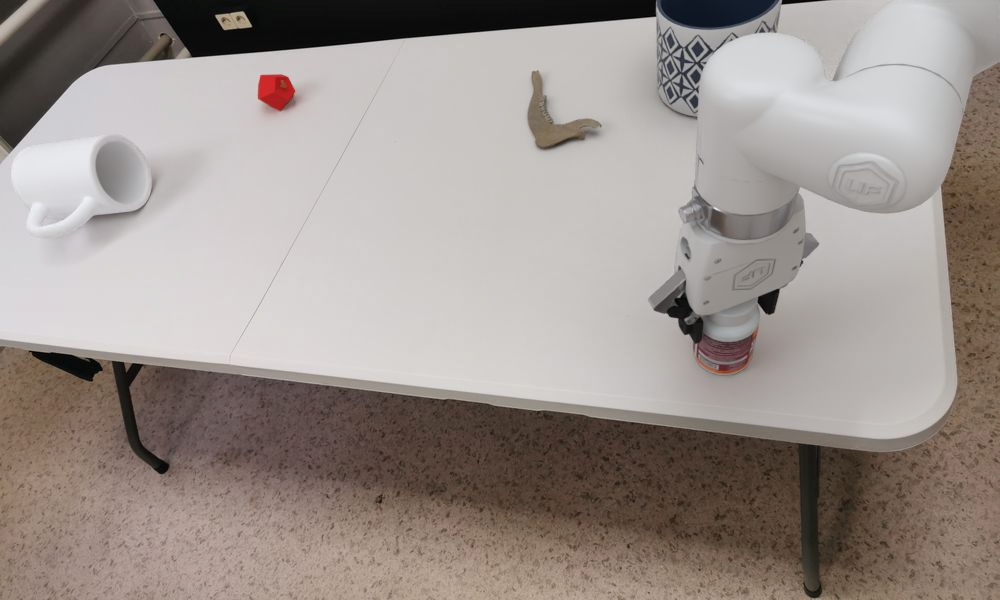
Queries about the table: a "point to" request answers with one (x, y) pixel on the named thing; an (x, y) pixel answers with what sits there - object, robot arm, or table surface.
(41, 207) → the mug
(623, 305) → the table surface
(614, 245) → the table surface
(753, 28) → the planter
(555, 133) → the jawbone
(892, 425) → the table surface
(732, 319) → the pill bottle
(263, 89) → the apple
